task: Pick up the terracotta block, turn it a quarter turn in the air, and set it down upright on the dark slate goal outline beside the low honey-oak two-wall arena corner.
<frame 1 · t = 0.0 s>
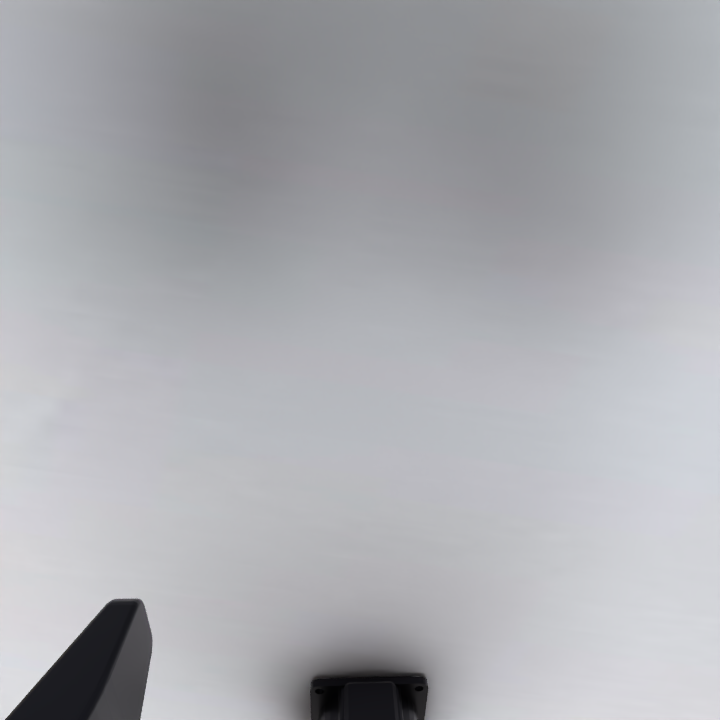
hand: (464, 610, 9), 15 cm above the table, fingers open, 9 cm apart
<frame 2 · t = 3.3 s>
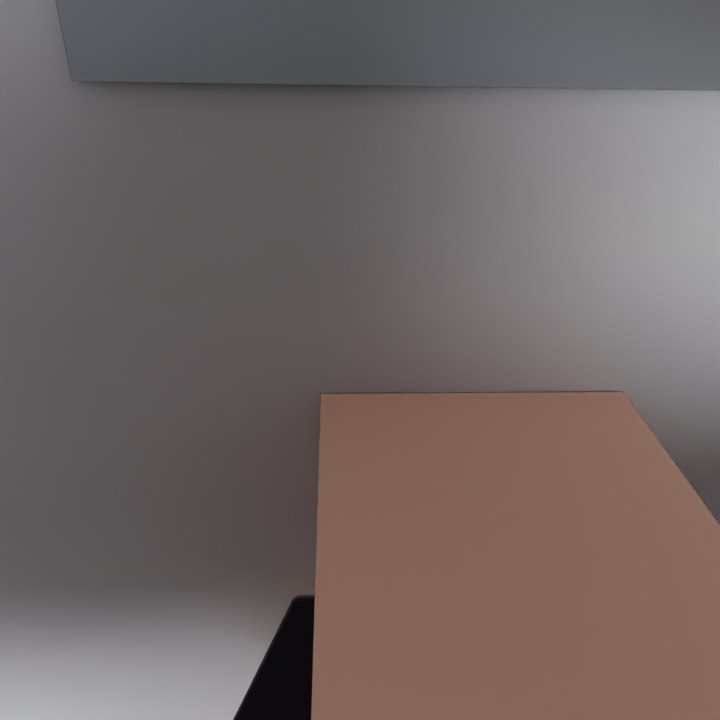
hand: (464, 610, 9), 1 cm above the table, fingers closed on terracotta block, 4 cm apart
terracotta block: (452, 552, 10), on the table, touching gripper
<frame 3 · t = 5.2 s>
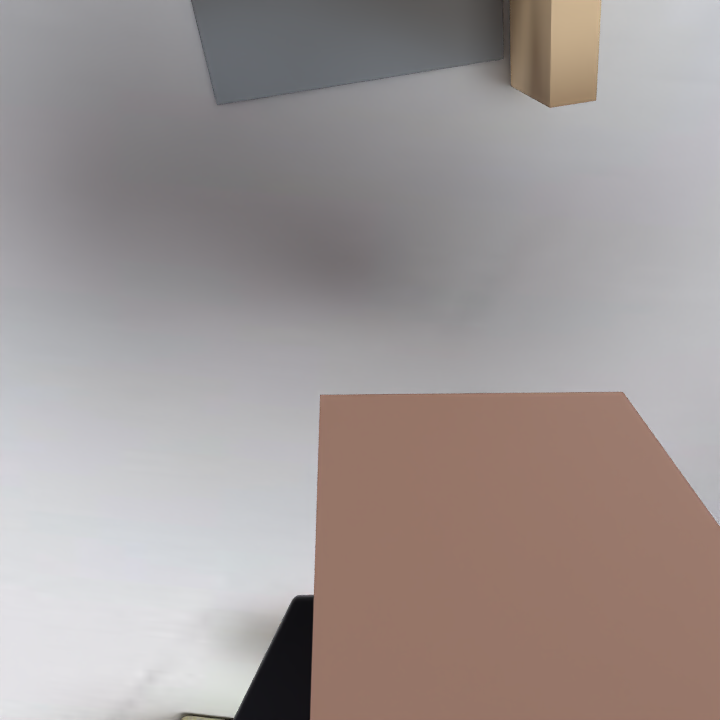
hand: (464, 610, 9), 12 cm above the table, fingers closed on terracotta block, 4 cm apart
terracotta block: (452, 552, 10), point 11 cm above the table, touching gripper
when the fingers open (2 cm above the table, at t = 7.5 s): terracotta block stays where it is, resting on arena.
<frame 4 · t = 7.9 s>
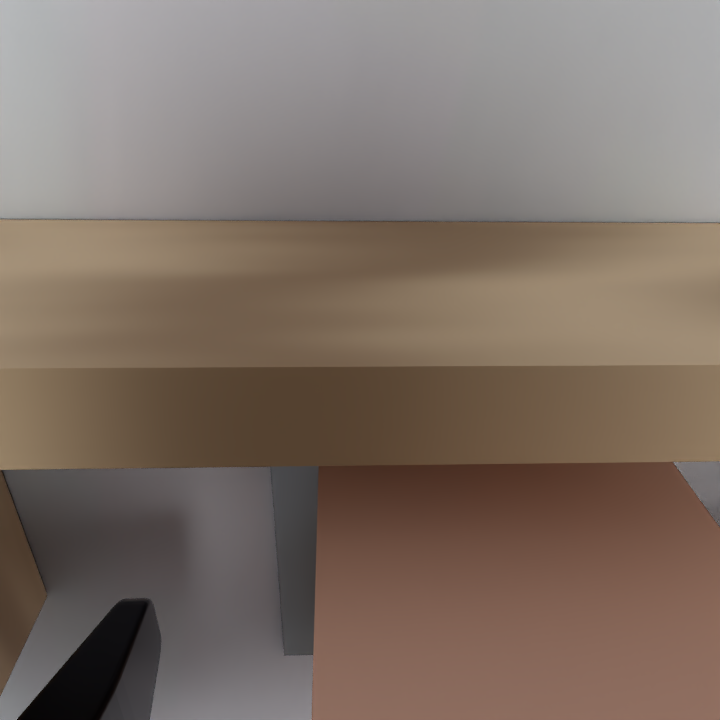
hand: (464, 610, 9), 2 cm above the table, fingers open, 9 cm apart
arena: (353, 439, 10), on the table
terracotta block: (443, 513, 10), resting on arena
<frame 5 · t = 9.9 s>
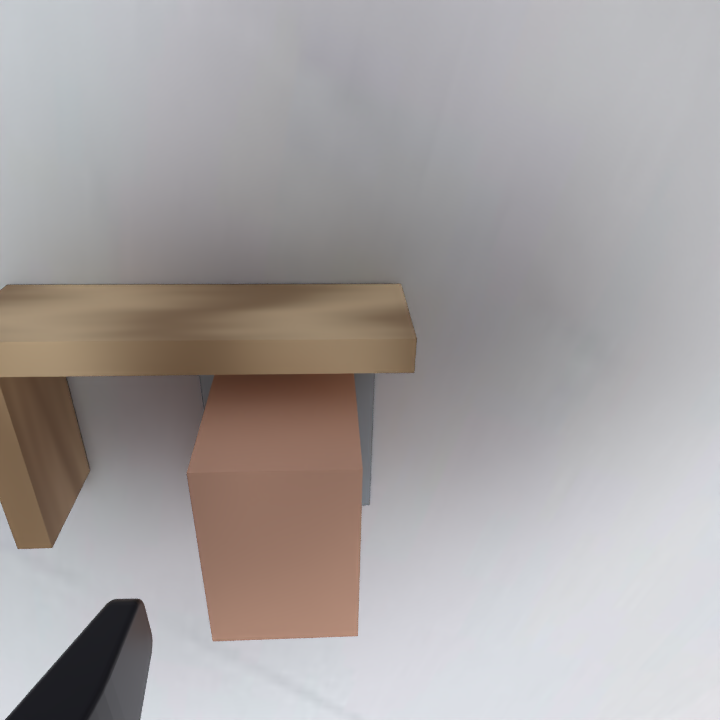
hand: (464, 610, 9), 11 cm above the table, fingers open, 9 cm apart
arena: (242, 384, 20), on the table
terracotta block: (290, 423, 21), resting on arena
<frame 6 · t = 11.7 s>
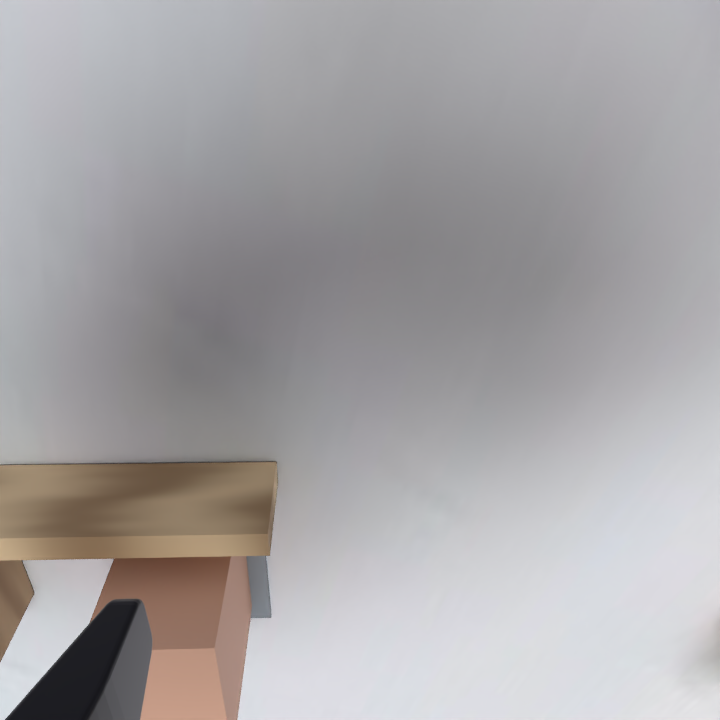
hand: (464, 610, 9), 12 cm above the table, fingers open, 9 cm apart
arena: (153, 531, 24), on the table
terracotta block: (197, 559, 25), resting on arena
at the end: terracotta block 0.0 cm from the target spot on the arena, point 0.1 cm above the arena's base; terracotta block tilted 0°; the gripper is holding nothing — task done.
